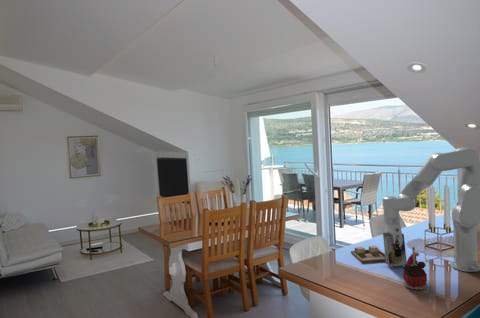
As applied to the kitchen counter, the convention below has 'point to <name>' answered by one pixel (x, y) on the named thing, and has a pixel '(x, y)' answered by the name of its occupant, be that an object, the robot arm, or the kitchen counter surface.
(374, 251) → the beech block
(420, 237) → the kitchen counter surface
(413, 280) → the cake
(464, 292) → the kitchen counter surface
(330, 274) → the kitchen counter surface
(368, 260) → the tray
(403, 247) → the coffee box
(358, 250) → the beech block
